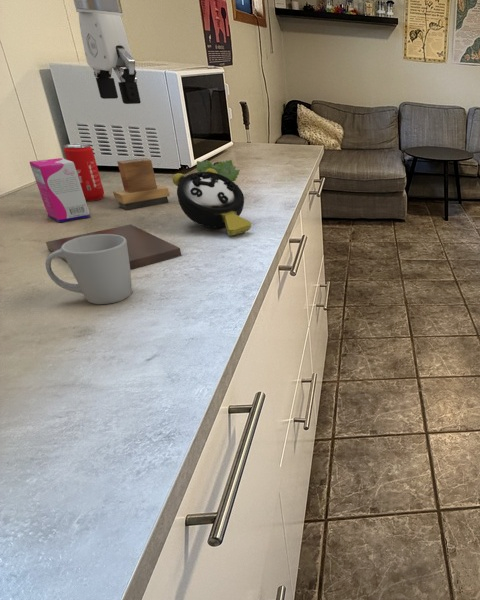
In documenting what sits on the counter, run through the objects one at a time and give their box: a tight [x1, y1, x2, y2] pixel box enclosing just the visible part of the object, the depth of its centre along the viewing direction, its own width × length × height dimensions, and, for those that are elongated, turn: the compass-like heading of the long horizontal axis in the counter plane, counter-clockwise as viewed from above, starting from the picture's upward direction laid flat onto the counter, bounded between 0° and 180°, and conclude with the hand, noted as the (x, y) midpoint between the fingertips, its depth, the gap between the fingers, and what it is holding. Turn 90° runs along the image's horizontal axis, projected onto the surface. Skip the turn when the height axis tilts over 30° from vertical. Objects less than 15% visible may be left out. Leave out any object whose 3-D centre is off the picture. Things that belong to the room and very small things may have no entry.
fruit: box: [195, 159, 241, 187], centre depth 115 cm, size 10×11×15 cm
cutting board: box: [45, 223, 182, 270], centre depth 84 cm, size 14×18×2 cm
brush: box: [112, 157, 170, 211], centre depth 107 cm, size 10×4×10 cm, turn 145°
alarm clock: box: [172, 168, 252, 236], centre depth 97 cm, size 12×15×15 cm
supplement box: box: [29, 157, 91, 223], centre depth 96 cm, size 6×6×12 cm
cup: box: [45, 234, 133, 305], centre depth 68 cm, size 8×10×8 cm
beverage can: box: [63, 143, 105, 202], centre depth 108 cm, size 5×5×12 cm
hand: (120, 100), depth 99 cm, fingers open, 9 cm apart
